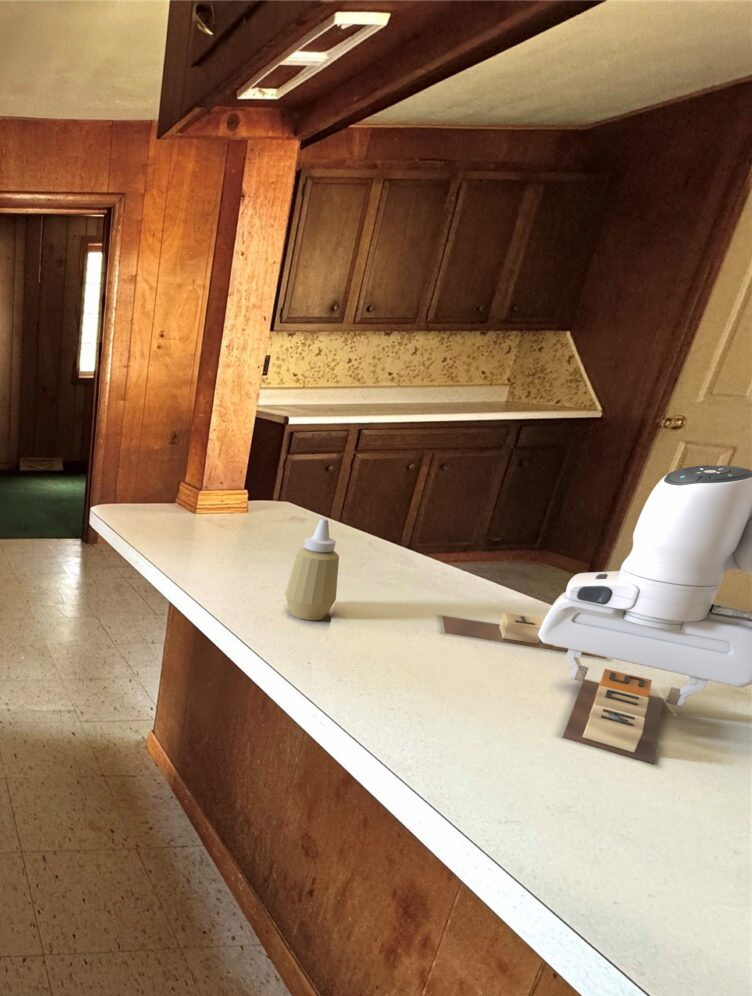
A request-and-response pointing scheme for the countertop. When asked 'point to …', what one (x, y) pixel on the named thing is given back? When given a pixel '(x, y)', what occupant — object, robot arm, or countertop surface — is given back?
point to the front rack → (615, 721)
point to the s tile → (625, 683)
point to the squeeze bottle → (314, 576)
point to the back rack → (504, 631)
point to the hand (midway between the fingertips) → (623, 690)
